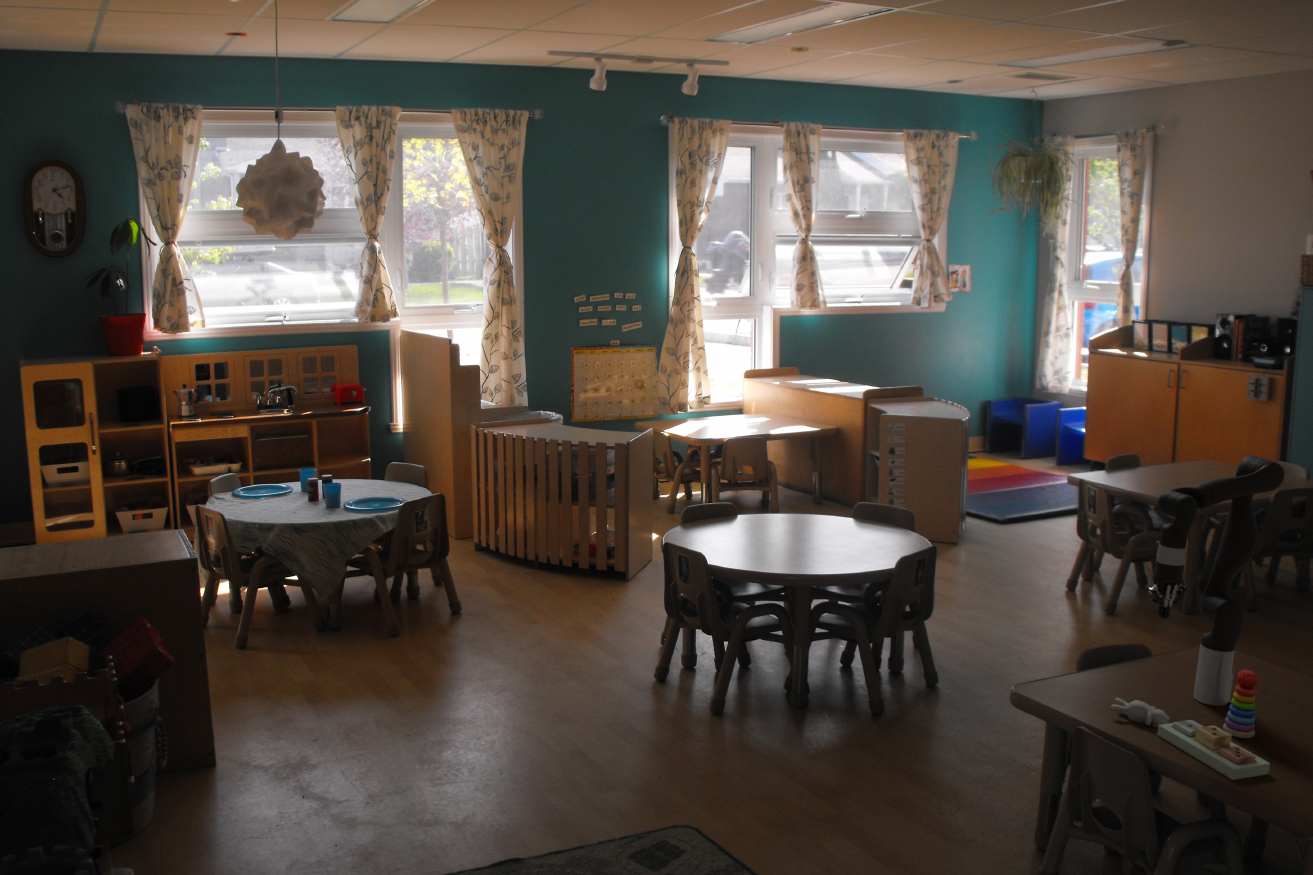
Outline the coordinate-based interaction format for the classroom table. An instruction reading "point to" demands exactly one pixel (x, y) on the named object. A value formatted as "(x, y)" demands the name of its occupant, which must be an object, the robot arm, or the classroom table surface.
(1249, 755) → the tile
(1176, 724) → the grey block
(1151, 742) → the classroom table surface
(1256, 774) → the number board
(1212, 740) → the tile
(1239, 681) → the stacking toy
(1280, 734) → the classroom table surface
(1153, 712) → the bunny figurine
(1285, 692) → the classroom table surface
